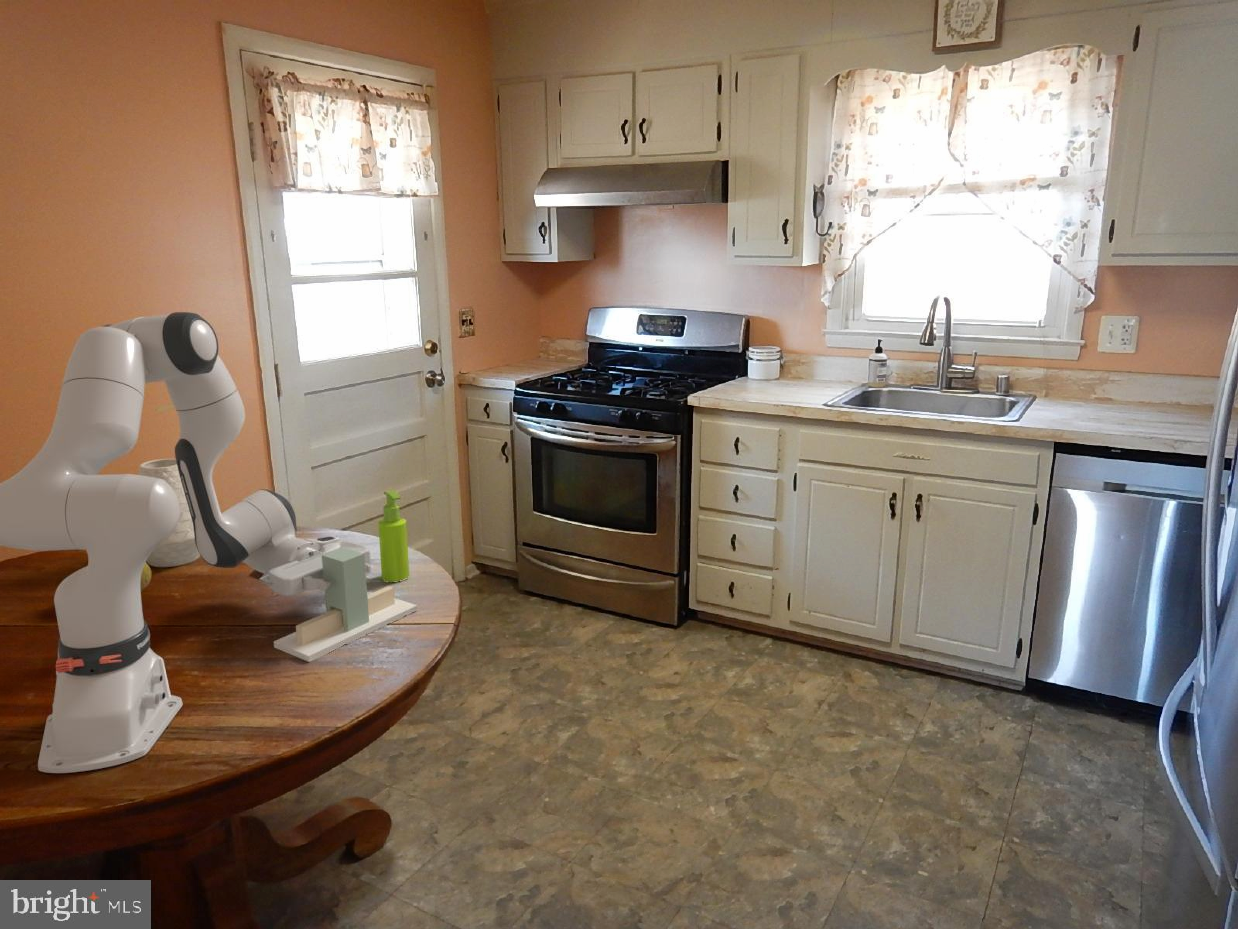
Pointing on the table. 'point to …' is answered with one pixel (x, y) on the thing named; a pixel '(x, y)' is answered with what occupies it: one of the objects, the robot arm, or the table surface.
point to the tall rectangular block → (347, 586)
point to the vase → (182, 539)
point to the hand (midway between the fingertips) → (348, 577)
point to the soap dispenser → (393, 541)
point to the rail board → (342, 627)
